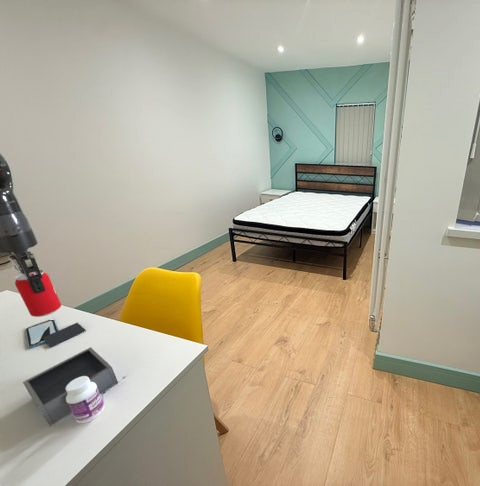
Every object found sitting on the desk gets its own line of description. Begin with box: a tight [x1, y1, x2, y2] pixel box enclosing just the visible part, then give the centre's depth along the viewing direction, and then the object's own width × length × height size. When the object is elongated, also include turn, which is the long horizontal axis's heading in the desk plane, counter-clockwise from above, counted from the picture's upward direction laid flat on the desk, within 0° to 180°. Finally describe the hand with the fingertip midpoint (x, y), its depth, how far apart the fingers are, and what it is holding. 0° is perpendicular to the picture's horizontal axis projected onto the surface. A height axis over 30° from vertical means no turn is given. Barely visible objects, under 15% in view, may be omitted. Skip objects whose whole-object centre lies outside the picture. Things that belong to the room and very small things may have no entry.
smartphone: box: [25, 319, 60, 349], centre depth 89 cm, size 7×1×15 cm
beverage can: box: [14, 269, 62, 318], centre depth 72 cm, size 6×6×12 cm
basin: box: [22, 347, 119, 427], centre depth 67 cm, size 14×14×6 cm
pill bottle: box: [66, 376, 106, 424], centre depth 61 cm, size 5×5×10 cm
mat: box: [43, 322, 87, 348], centre depth 87 cm, size 9×7×1 cm
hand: (36, 288), depth 71 cm, fingers closed on beverage can, 6 cm apart
